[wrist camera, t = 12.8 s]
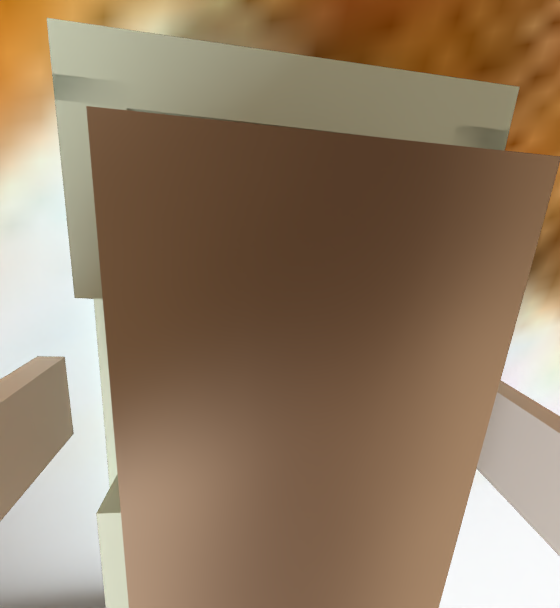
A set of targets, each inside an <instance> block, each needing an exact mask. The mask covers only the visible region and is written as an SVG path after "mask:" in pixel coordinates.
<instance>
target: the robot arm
mask: <svg viewBox="0 0 560 608" xmlns="http://www.w3.org/2000/svg"><path fill="white" fill-rule="evenodd" d="M72 435H73V425H72V417H71V408H70V399H69V391H68V382H67V373H66V365H65V357H44V356H37V357H36V358H34V359H33V360H31V361H29V362H28V363H26V364H24V365H23V366H21V367H20V368H18V369H16V370H15V371H13V372H12V373H10V374H8V375H7V376H5V377H4V378H2V379H0V521H1V520H2V519H3V517H4V516H5V515H6V514H7V513H8V511H9V510H10V509H11V508H12V507H13V505H14V504H15V503H16V502H17V501H18V500H19V498H20V497H21V496H22V495H23V494H24V492H25V491H26V490H27V489H28V488H29V486H30V485H31V484H32V483H33V482H34V480H35V479H36V478H37V477H38V476H39V474H40V473H41V472H42V471H43V470H44V468H45V467H46V466H47V465H48V464H49V462H50V461H51V460H52V459H53V458H54V456H55V455H56V454H57V453H58V452H59V450H60V449H61V448H62V447H63V446H64V444H65V443H66V442H67V441H68V440H69V438H70V437H71V436H72ZM477 469H478V471H479V472H480V473H481V474H482V475H483V476H484V477H485V478H486V479H487V480H488V481H489V482H490V483H491V484H492V485H493V486H494V487H495V488H496V490H497V491H498V492H499V493H500V494H501V495H502V496H503V497H504V498H505V499H506V500H507V501H508V502H509V503H510V504H511V505H512V506H513V507H514V509H515V510H516V511H517V512H518V513H519V514H520V515H521V516H522V517H523V518H524V519H525V520H526V521H527V522H528V523H529V524H530V525H531V527H532V528H533V529H534V530H535V531H536V532H537V533H538V534H539V535H540V536H541V537H542V538H543V539H544V540H545V541H546V542H547V543H548V544H549V546H550V547H551V548H552V549H553V550H554V551H555V552H556V553H557V554H558V555H559V556H560V416H558V415H557V414H555V413H553V412H552V411H550V410H548V409H547V408H545V407H543V406H542V405H540V404H539V403H537V402H535V401H534V400H532V399H530V398H529V397H527V396H525V395H524V394H522V393H520V392H519V391H517V390H516V389H514V388H512V387H511V386H509V385H507V384H506V383H504V382H502V381H501V380H500V383H499V387H498V391H497V394H496V398H495V402H494V405H493V409H492V413H491V416H490V420H489V424H488V427H487V431H486V435H485V438H484V442H483V446H482V449H481V453H480V457H479V460H478V464H477Z"/></svg>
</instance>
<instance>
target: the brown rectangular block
mask: <svg viewBox="0 0 560 608" xmlns="http://www.w3.org/2000/svg"><path fill="white" fill-rule="evenodd" d="M86 109H87V121H88V133H89V145H90V156H91V168H92V180H93V192H94V203H95V215H96V227H97V239H98V251H99V262H100V274H101V286H102V298H103V309H104V321H105V333H106V345H107V356H108V368H109V380H110V392H111V404H112V415H113V427H114V439H115V451H116V462H117V474H118V486H119V498H120V509H121V521H122V533H123V545H124V556H125V568H126V580H127V592H128V604H129V608H439V604H440V600H441V597H442V593H443V589H444V586H445V582H446V578H447V575H448V571H449V567H450V563H451V560H452V556H453V552H454V549H455V545H456V541H457V538H458V534H459V530H460V527H461V523H462V519H463V516H464V512H465V508H466V505H467V501H468V497H469V494H470V490H471V486H472V483H473V479H474V475H475V472H476V468H477V464H478V460H479V457H480V453H481V449H482V446H483V442H484V438H485V435H486V431H487V427H488V424H489V420H490V416H491V413H492V409H493V405H494V402H495V398H496V394H497V391H498V387H499V383H500V380H501V376H502V372H503V369H504V365H505V361H506V357H507V354H508V350H509V346H510V343H511V339H512V335H513V332H514V328H515V324H516V321H517V317H518V313H519V310H520V306H521V302H522V299H523V295H524V291H525V288H526V284H527V280H528V277H529V273H530V269H531V266H532V262H533V258H534V255H535V251H536V247H537V243H538V240H539V236H540V232H541V229H542V225H543V221H544V218H545V214H546V210H547V207H548V203H549V199H550V196H551V192H552V188H553V185H554V181H555V177H556V174H557V170H558V166H559V163H560V157H559V156H550V155H541V154H531V153H522V152H512V151H503V150H494V149H484V148H475V147H466V146H456V145H447V144H438V143H428V142H419V141H409V140H400V139H391V138H381V137H372V136H363V135H353V134H344V133H335V132H325V131H316V130H306V129H297V128H288V127H278V126H269V125H260V124H250V123H241V122H232V121H222V120H213V119H204V118H194V117H185V116H175V115H166V114H157V113H147V112H138V111H129V110H119V109H110V108H101V107H91V106H86Z"/></svg>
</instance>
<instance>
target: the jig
mask: <svg viewBox="0 0 560 608" xmlns="http://www.w3.org/2000/svg"><path fill="white" fill-rule="evenodd" d="M47 26H48V36H49V46H50V56H51V66H52V76H53V86H54V96H55V106H56V116H57V126H58V136H59V146H60V156H61V166H62V176H63V186H64V196H65V206H66V216H67V226H68V236H69V246H70V256H71V266H72V276H73V286H74V296H75V298H89V299H94V307H95V319H96V331H97V343H98V355H99V367H100V378H101V390H102V402H103V414H104V426H105V438H106V450H107V462H108V474H109V485H110V489H109V491H108V493H107V494H106V496H105V498H104V500H103V502H102V504H101V506H100V508H99V510H98V512H97V513H96V515H97V525H98V535H99V545H100V555H101V565H102V575H103V585H104V595H105V605H106V608H129V604H128V592H127V580H126V568H125V556H124V545H123V533H122V521H121V509H120V498H119V486H118V474H117V462H116V451H115V439H114V427H113V415H112V404H111V392H110V380H109V368H108V356H107V345H106V333H105V321H104V309H103V298H102V286H101V274H100V262H99V251H98V239H97V227H96V215H95V203H94V192H93V180H92V168H91V156H90V145H89V133H88V121H87V109H86V106H91V107H101V108H110V109H119V110H129V111H138V112H147V113H157V114H166V115H175V116H185V117H194V118H204V119H213V120H222V121H232V122H241V123H250V124H260V125H269V126H278V127H288V128H297V129H306V130H316V131H325V132H335V133H344V134H353V135H363V136H372V137H381V138H391V139H400V140H409V141H419V142H428V143H438V144H447V145H456V146H466V147H475V148H484V149H494V150H503V151H505V147H506V142H507V138H508V134H509V130H510V125H511V121H512V117H513V113H514V108H515V104H516V100H517V96H518V91H519V87H517V86H511V85H504V84H497V83H490V82H483V81H476V80H469V79H463V78H456V77H449V76H442V75H435V74H428V73H421V72H415V71H408V70H401V69H394V68H387V67H380V66H373V65H367V64H360V63H353V62H346V61H339V60H332V59H325V58H319V57H312V56H305V55H298V54H291V53H284V52H277V51H271V50H264V49H257V48H250V47H243V46H236V45H229V44H223V43H216V42H209V41H202V40H195V39H188V38H181V37H175V36H168V35H161V34H154V33H147V32H140V31H133V30H127V29H120V28H113V27H106V26H99V25H92V24H85V23H79V22H72V21H65V20H58V19H51V18H47Z"/></svg>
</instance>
